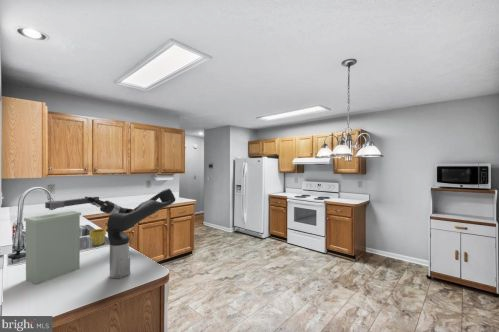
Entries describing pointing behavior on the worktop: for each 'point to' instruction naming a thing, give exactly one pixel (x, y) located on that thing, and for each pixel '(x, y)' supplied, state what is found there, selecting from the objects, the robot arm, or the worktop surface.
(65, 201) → the long gray t-shaped bar
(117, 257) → the robot arm
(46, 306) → the worktop surface
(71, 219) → the tall capped green box
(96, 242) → the plant pot
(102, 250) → the worktop surface
